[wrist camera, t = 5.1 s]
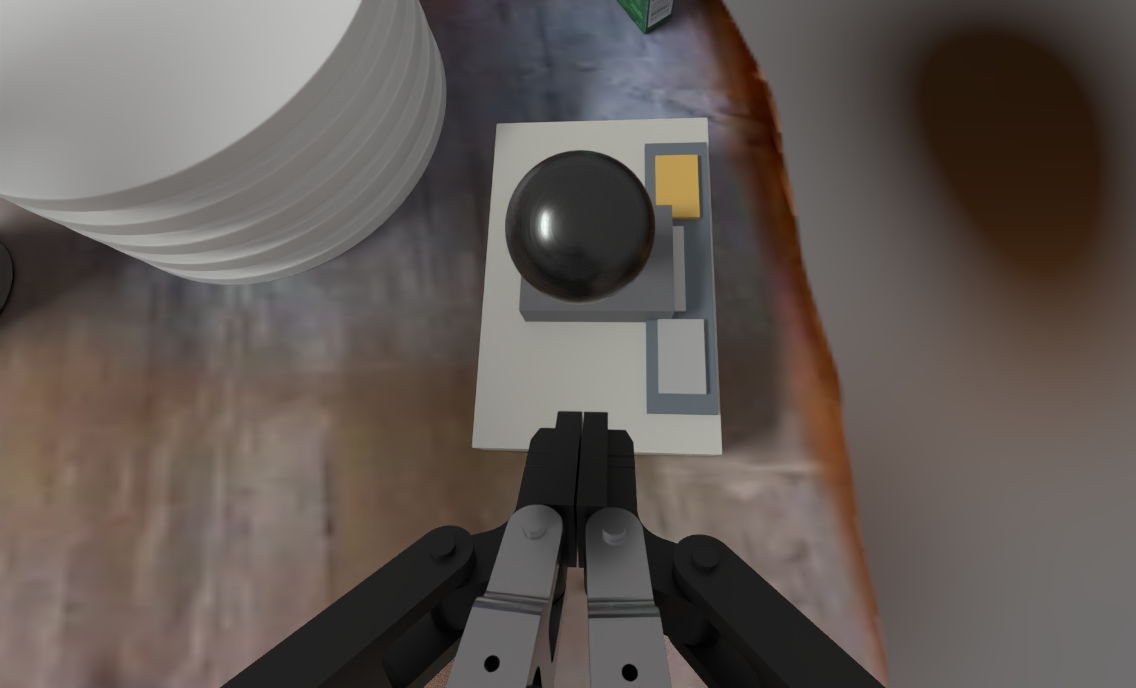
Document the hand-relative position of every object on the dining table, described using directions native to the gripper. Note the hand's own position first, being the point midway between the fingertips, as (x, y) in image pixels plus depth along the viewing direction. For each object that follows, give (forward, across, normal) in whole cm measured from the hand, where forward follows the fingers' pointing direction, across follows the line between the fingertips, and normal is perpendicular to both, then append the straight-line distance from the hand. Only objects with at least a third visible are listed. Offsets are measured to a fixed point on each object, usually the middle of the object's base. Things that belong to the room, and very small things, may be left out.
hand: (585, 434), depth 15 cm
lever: (+13, 0, +2) cm, 13 cm away
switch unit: (+18, 0, -4) cm, 18 cm away
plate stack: (+28, -26, +7) cm, 39 cm away
